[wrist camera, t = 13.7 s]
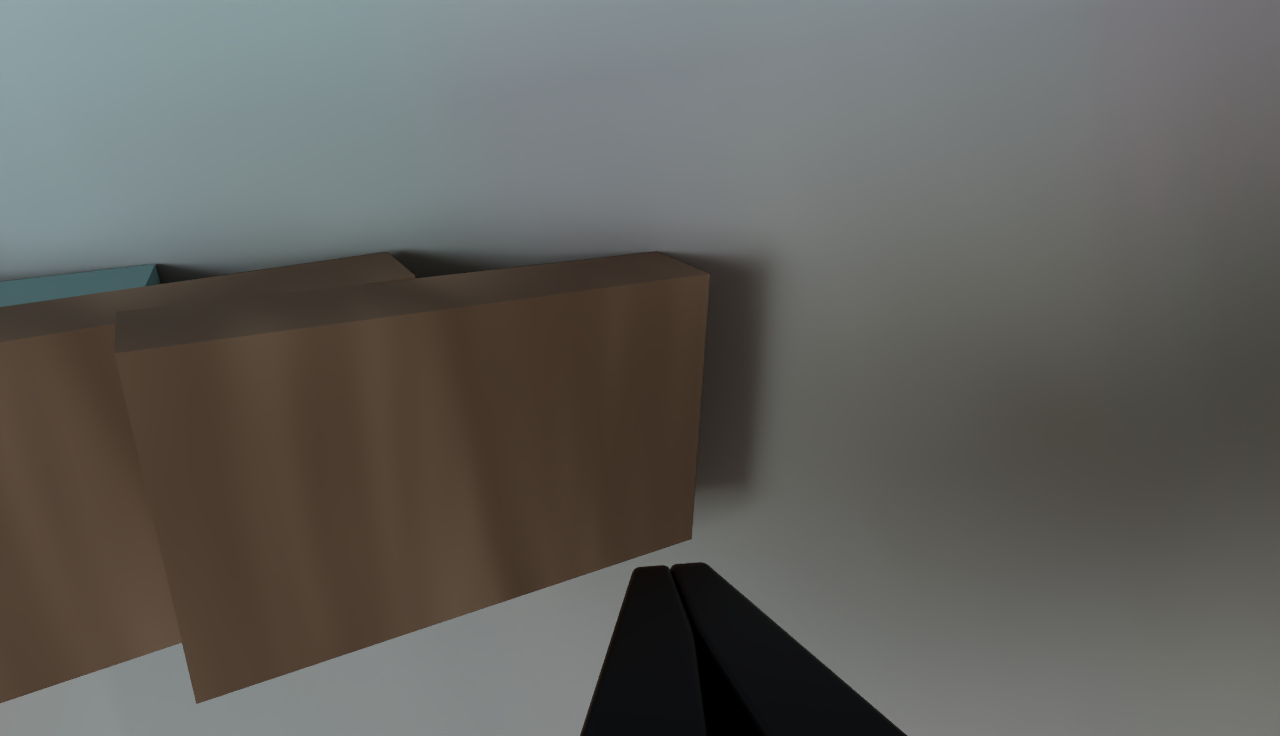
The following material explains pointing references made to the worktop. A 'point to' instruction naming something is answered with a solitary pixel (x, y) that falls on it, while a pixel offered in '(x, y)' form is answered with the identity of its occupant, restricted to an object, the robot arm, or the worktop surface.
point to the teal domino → (76, 284)
